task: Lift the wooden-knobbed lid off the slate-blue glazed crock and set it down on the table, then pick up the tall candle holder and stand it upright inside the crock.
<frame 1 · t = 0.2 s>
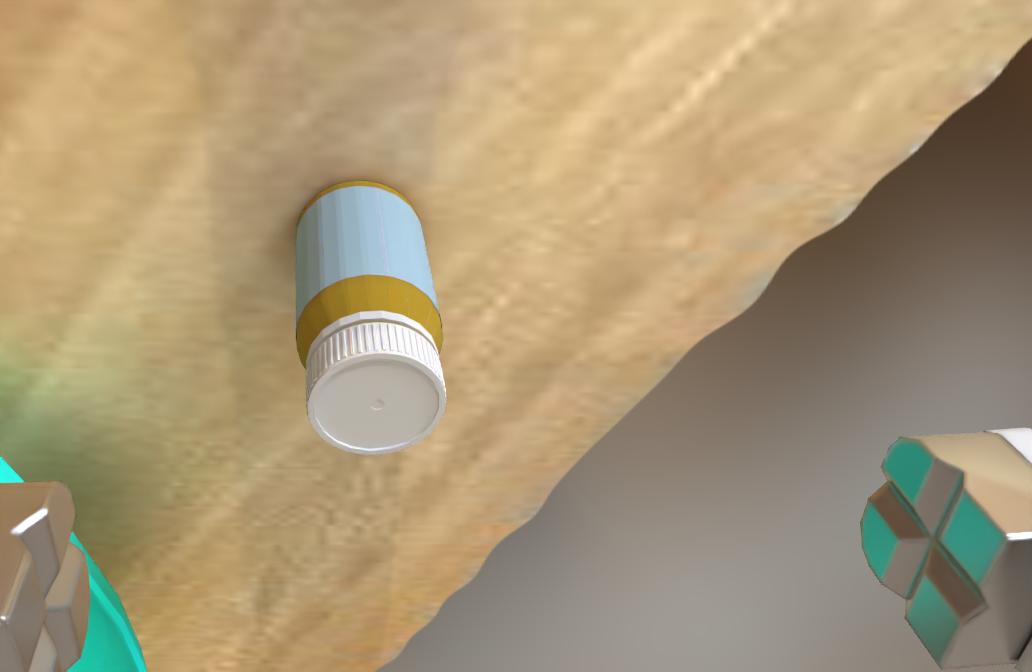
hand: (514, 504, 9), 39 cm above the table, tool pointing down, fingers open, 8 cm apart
bottle: (359, 228, 52), on the table
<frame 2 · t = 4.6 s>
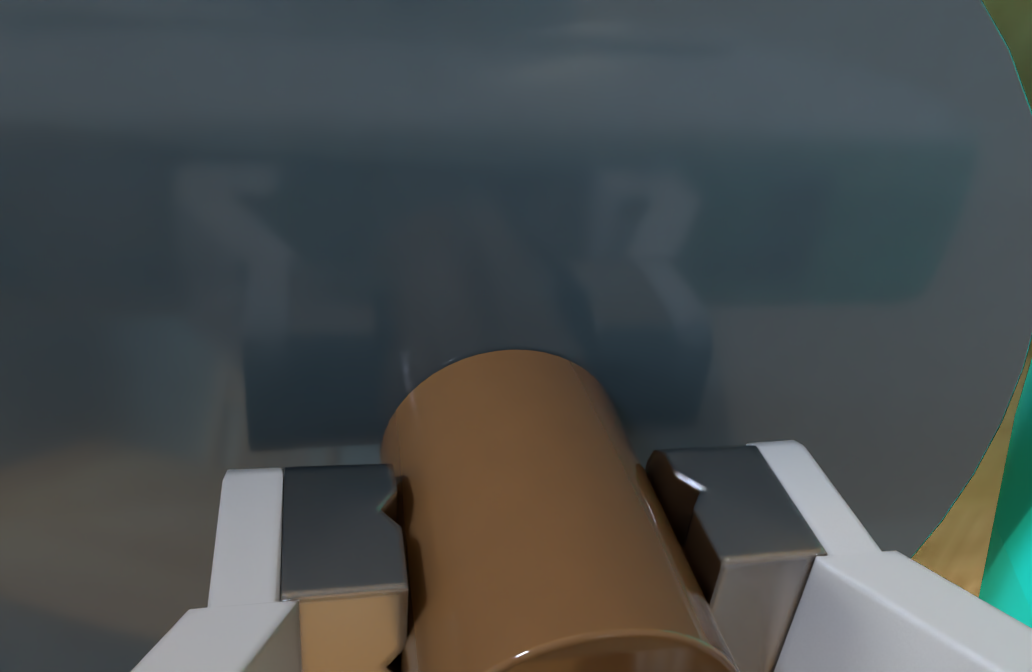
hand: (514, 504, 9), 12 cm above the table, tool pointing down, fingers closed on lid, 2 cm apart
lid: (491, 415, 10), point 11 cm above the table, touching crock, gripper
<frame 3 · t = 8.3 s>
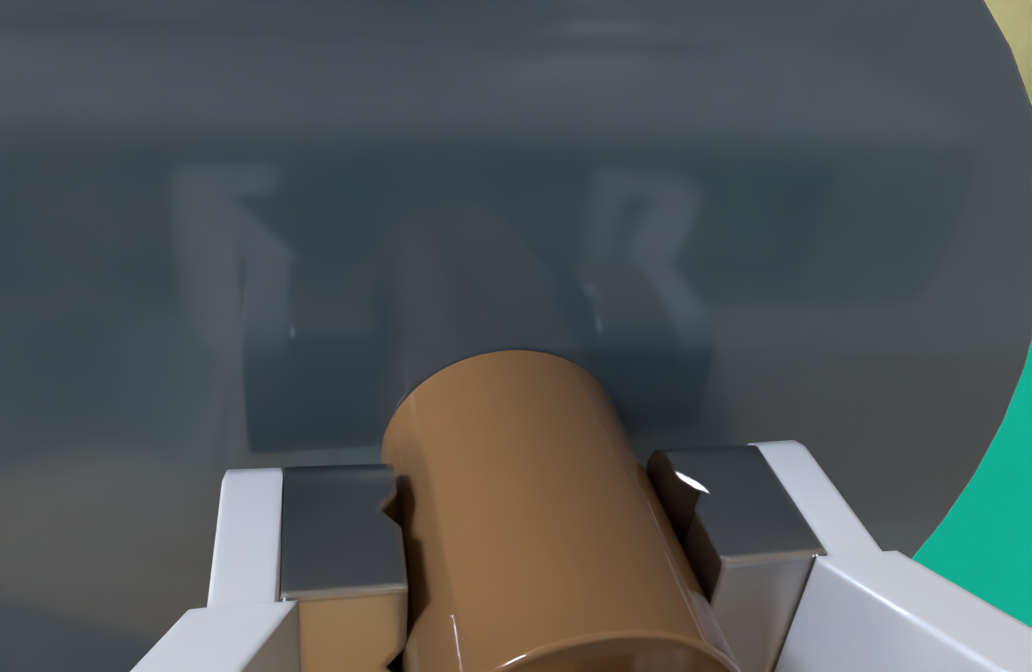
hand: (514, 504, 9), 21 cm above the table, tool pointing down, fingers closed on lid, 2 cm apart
lid: (492, 415, 10), point 19 cm above the table, touching gripper
table top decor: (992, 393, 40), on the table
when the fingers open (2 cm above the table, at t = 11.9 s): lid stays where it is, point 1 cm above the table.
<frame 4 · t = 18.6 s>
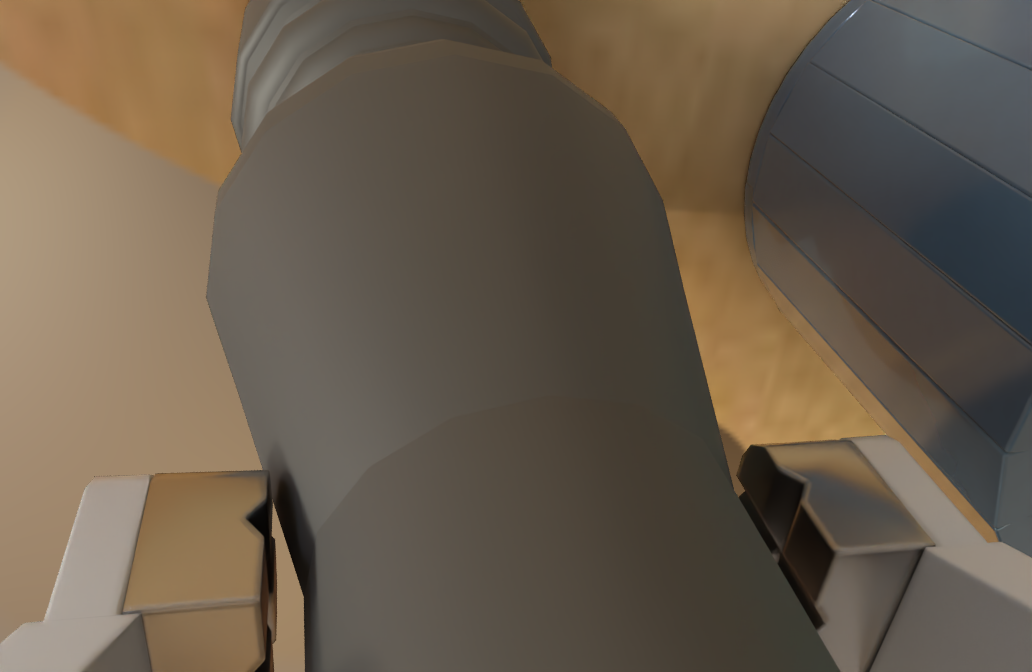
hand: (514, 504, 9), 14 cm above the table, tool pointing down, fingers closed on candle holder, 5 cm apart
candle holder: (384, 64, 20), on the table, touching arm, gripper
crock: (947, 161, 24), on the table
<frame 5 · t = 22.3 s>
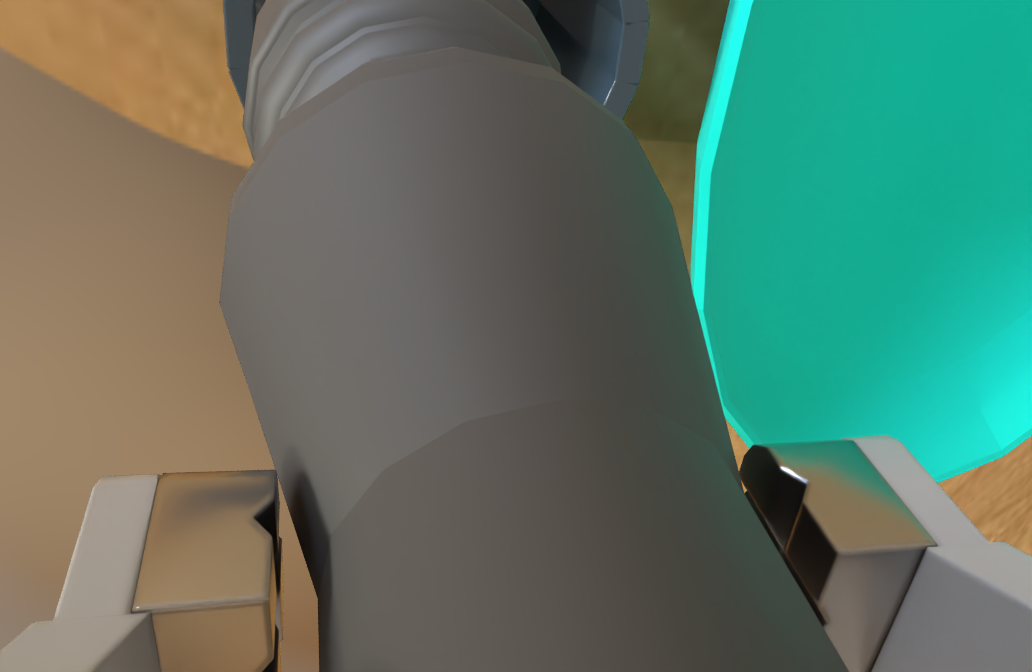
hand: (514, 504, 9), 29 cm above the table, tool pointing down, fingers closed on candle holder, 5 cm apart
candle holder: (394, 71, 20), point 15 cm above the table, touching arm, gripper
when the fingers open (14 cm above the table, at t = 26.0 s): candle holder stays where it is, resting on crock.
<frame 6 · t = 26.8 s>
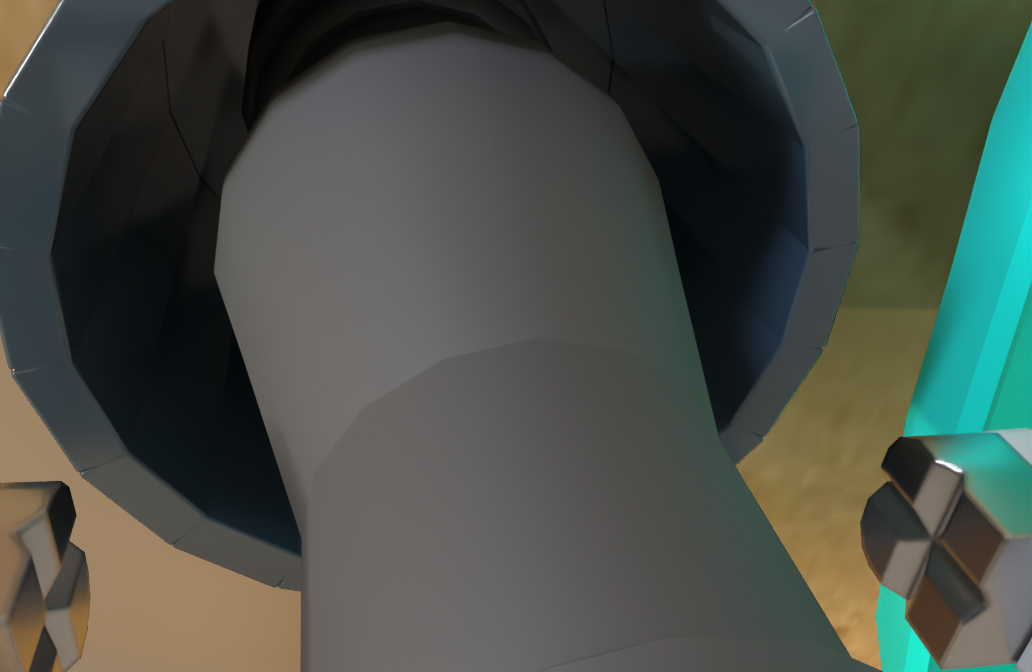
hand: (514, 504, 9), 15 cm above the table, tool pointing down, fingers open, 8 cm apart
candle holder: (392, 62, 20), resting on crock
crock: (396, 77, 21), on the table
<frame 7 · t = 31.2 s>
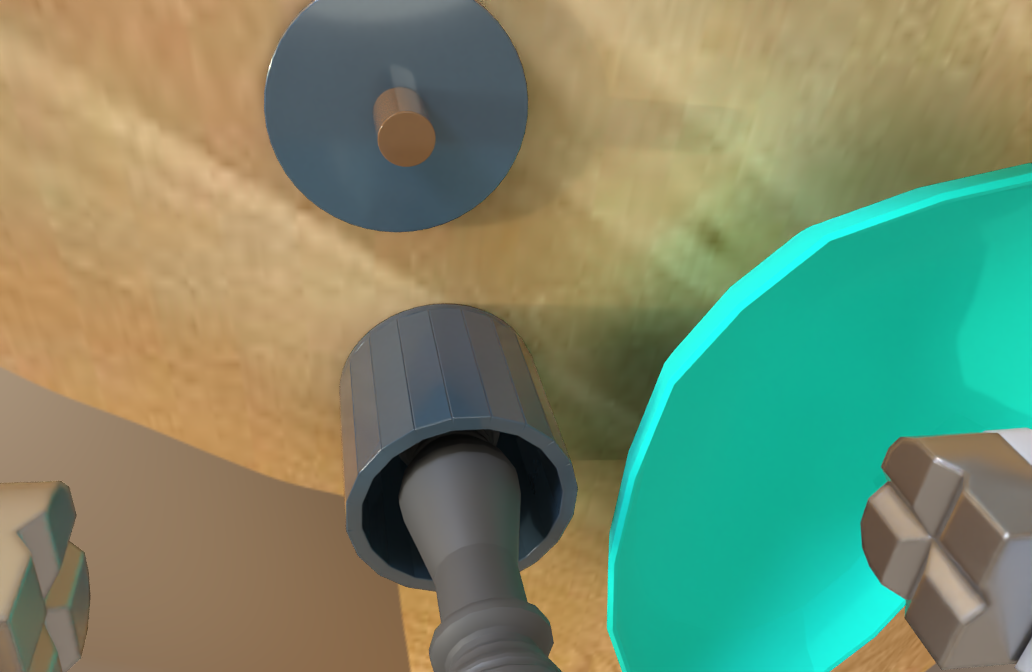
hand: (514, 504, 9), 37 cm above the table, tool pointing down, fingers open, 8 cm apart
lid: (398, 109, 44), point 1 cm above the table
candle holder: (437, 385, 53), resting on crock
crock: (438, 387, 54), on the table
table top decor: (810, 347, 58), on the table
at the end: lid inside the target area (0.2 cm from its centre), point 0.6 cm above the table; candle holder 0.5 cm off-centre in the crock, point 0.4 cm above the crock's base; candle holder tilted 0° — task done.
